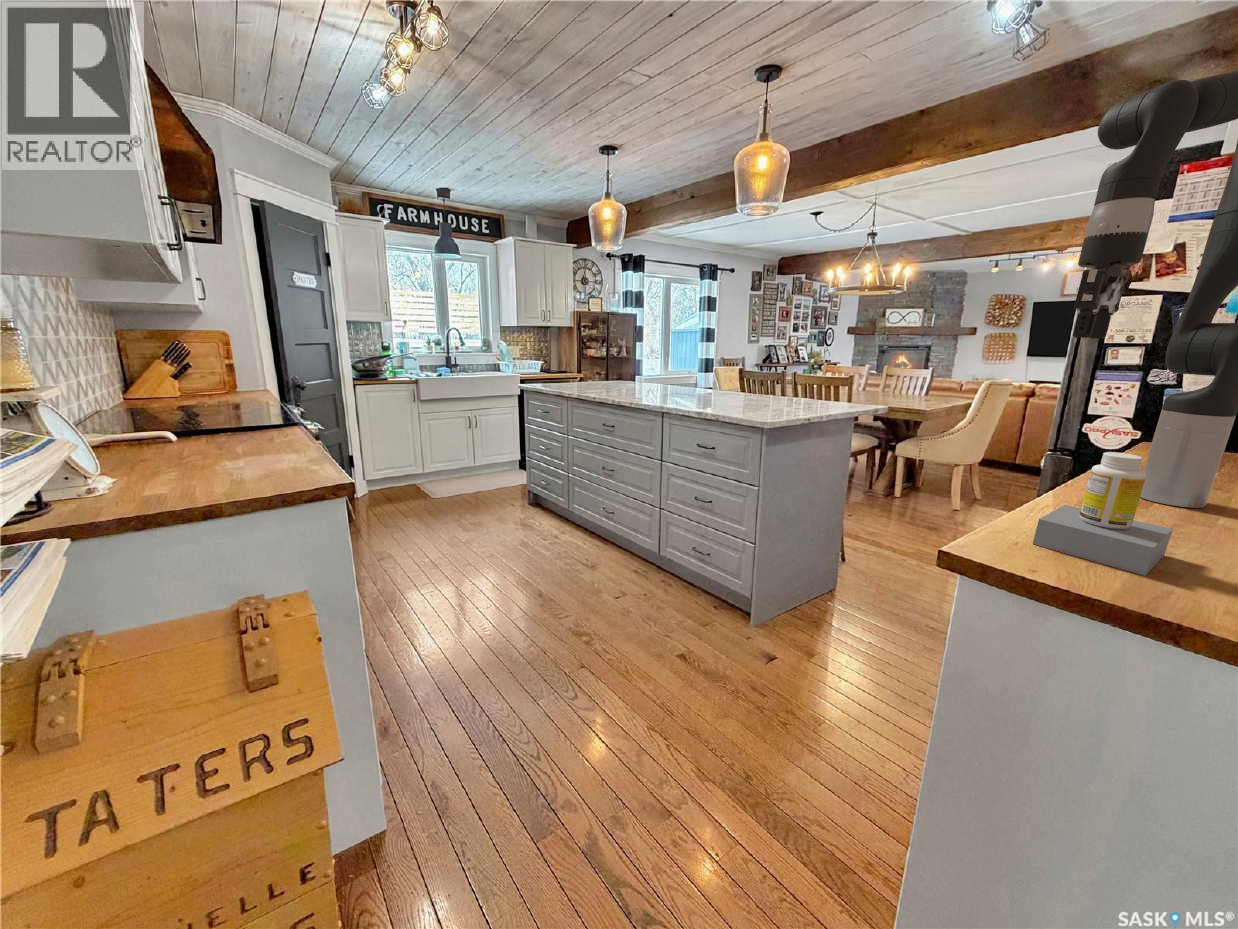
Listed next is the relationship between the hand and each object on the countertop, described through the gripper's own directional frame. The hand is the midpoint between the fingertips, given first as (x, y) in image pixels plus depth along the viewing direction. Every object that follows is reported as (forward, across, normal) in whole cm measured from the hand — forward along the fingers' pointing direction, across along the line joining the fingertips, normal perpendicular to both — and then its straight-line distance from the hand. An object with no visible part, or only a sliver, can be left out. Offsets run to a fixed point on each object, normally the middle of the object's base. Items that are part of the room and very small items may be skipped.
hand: (1089, 338), depth 84 cm
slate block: (+30, -18, -11) cm, 37 cm away
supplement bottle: (+26, -18, -11) cm, 34 cm away
